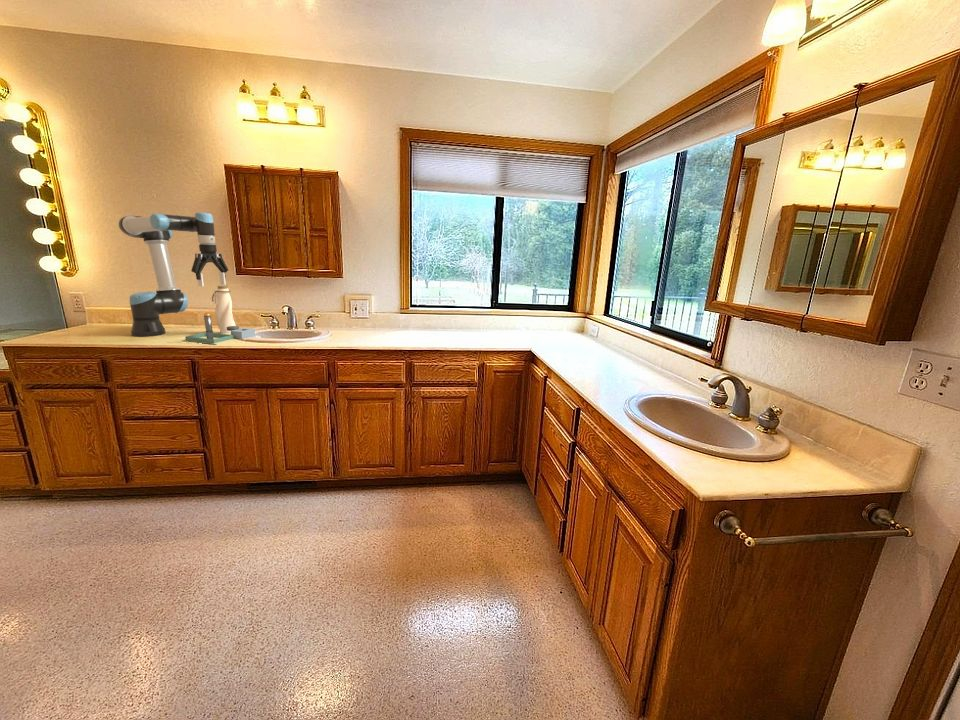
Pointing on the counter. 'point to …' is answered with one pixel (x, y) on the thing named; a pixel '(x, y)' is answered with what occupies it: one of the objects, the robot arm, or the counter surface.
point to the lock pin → (208, 326)
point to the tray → (207, 341)
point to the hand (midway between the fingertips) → (212, 285)
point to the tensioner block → (241, 332)
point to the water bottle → (223, 309)
